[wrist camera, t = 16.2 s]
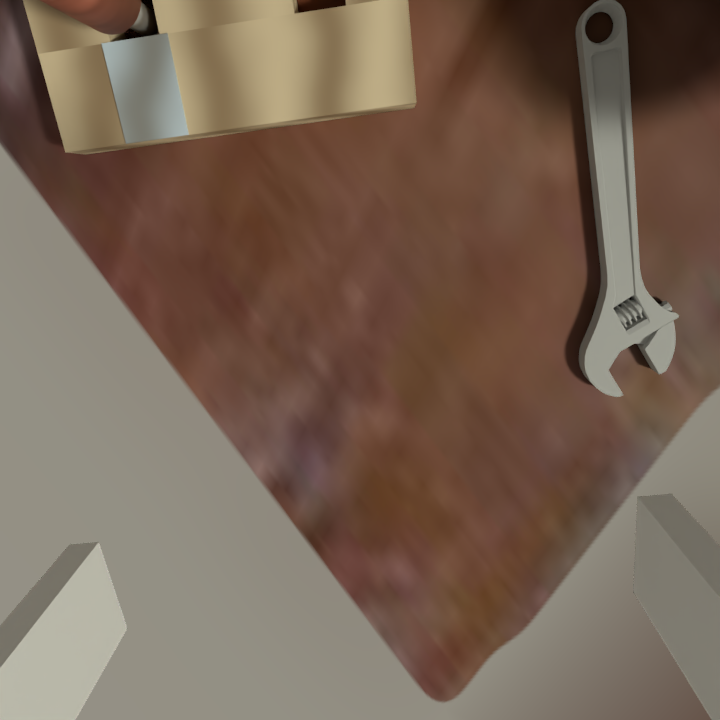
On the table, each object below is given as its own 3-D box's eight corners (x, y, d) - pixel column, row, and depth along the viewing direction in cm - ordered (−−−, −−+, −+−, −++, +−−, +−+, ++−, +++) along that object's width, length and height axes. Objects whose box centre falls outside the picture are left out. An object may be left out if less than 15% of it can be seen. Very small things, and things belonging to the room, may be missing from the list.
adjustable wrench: (568, 11, 33) (578, 2, 31) (677, -8, 32) (693, -18, 30) (577, 389, 40) (586, 398, 38) (665, 379, 40) (678, 387, 38)
